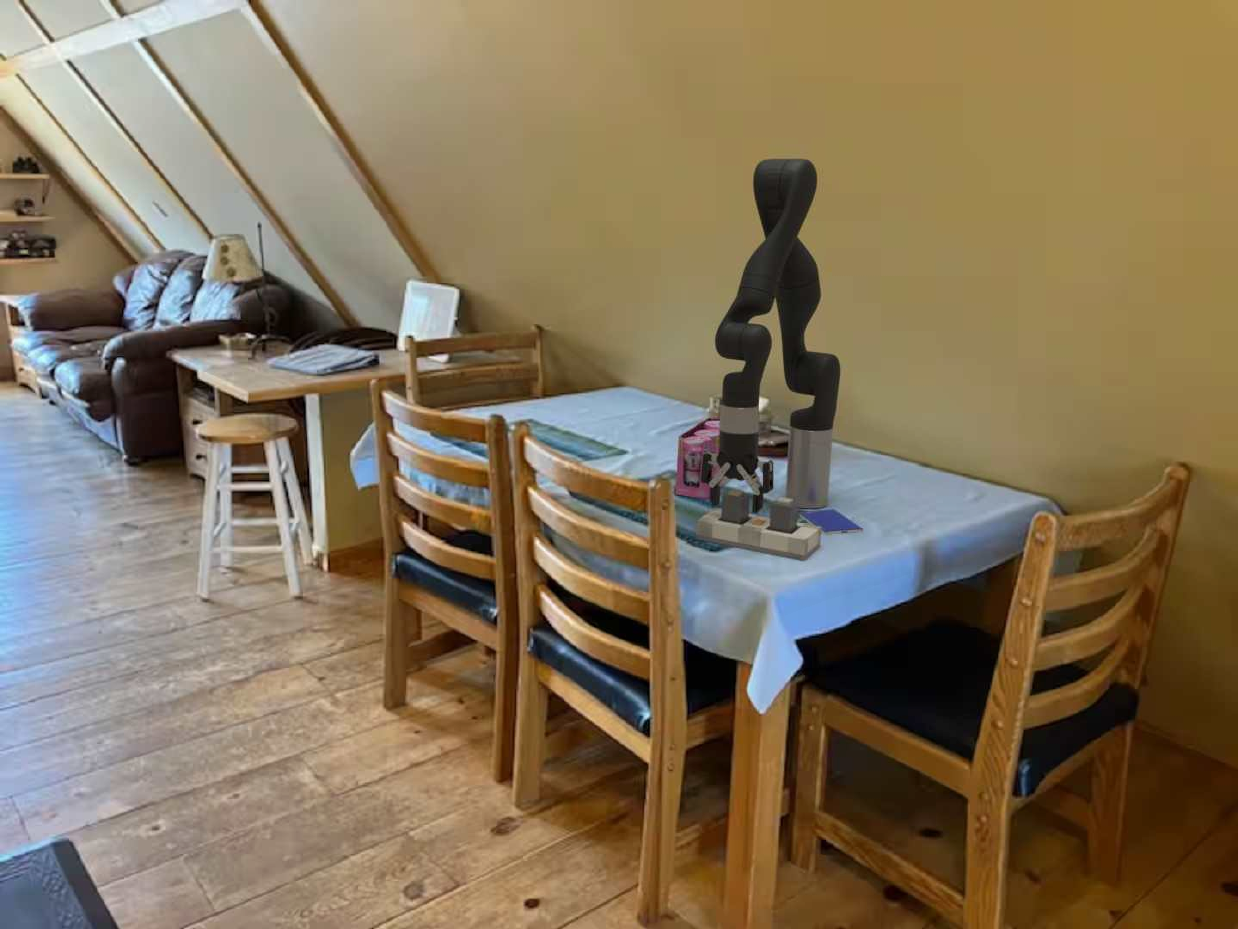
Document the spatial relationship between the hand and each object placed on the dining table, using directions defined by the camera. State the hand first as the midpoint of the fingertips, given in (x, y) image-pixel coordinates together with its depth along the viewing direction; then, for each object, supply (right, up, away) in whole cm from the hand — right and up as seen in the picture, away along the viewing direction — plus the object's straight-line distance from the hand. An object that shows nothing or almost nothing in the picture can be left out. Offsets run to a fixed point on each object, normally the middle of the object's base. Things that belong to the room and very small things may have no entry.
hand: (735, 508), depth 193 cm
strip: (+4, -7, -1) cm, 8 cm away
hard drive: (+21, -4, +11) cm, 24 cm away
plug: (0, -5, +1) cm, 5 cm away
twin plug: (+9, -6, -4) cm, 11 cm away
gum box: (-2, +4, +38) cm, 38 cm away
